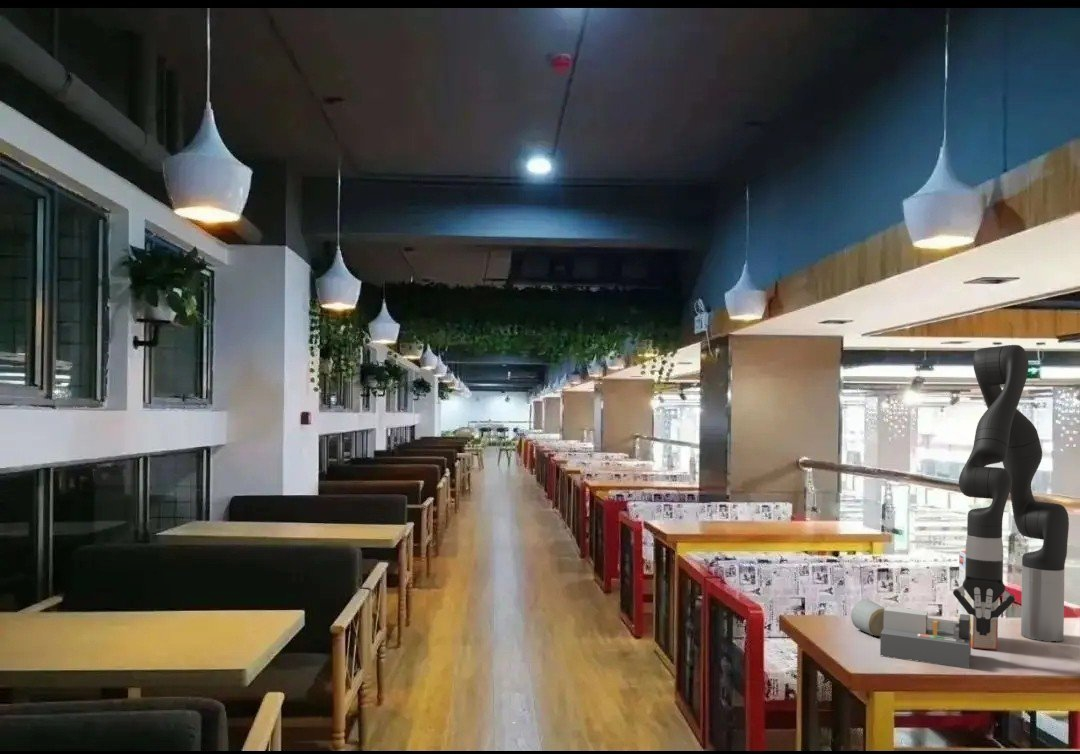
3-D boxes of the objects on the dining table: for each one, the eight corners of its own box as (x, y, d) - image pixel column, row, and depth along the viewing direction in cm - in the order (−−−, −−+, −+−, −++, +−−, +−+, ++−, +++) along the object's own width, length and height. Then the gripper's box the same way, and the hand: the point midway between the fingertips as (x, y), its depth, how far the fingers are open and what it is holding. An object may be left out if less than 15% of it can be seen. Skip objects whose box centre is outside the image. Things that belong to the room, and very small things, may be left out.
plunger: (917, 626, 213) (917, 608, 213) (969, 632, 208) (970, 615, 208) (913, 634, 205) (914, 616, 205) (968, 642, 200) (968, 623, 200)
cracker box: (999, 651, 213) (1000, 560, 214) (971, 649, 214) (972, 559, 215) (983, 635, 227) (984, 550, 227) (956, 633, 228) (958, 549, 229)
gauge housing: (886, 643, 217) (887, 604, 218) (970, 654, 209) (971, 614, 209) (880, 655, 207) (880, 614, 207) (968, 668, 199) (969, 625, 199)
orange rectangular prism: (933, 634, 205) (933, 620, 205) (937, 634, 205) (937, 621, 205) (932, 635, 204) (933, 621, 204) (936, 636, 204) (937, 622, 204)
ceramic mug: (869, 638, 221) (870, 606, 222) (849, 630, 229) (850, 599, 229) (907, 637, 224) (908, 606, 224) (886, 629, 232) (887, 598, 232)
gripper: (1017, 557, 205) (1016, 635, 205) (952, 551, 211) (951, 627, 211) (1017, 562, 198) (1016, 642, 198) (950, 555, 204) (949, 634, 204)
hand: (983, 634), depth 204 cm, fingers closed
